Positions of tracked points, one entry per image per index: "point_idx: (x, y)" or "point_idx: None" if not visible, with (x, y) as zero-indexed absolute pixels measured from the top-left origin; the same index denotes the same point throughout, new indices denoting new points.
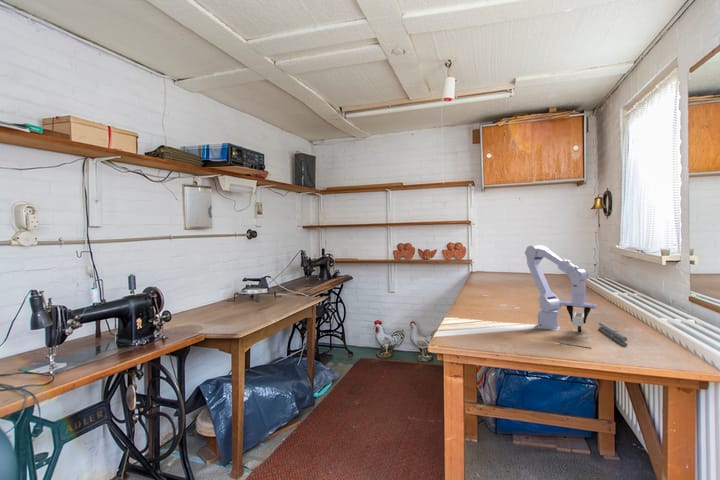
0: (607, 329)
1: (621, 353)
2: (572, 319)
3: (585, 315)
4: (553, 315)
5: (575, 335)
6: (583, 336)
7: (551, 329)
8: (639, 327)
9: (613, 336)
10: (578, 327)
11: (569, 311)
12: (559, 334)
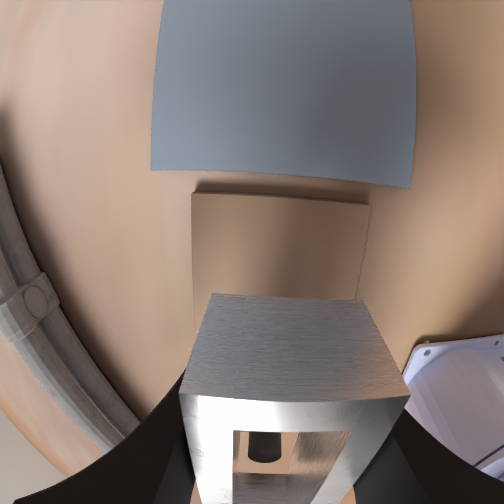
0: (73, 388)
1: (25, 10)
2: (391, 356)
3: (138, 461)
4: (488, 434)
5: (301, 261)
6: (230, 262)
7: (453, 345)
8: (74, 472)
9: (29, 286)
10: None
11: (473, 484)
12: (420, 268)
